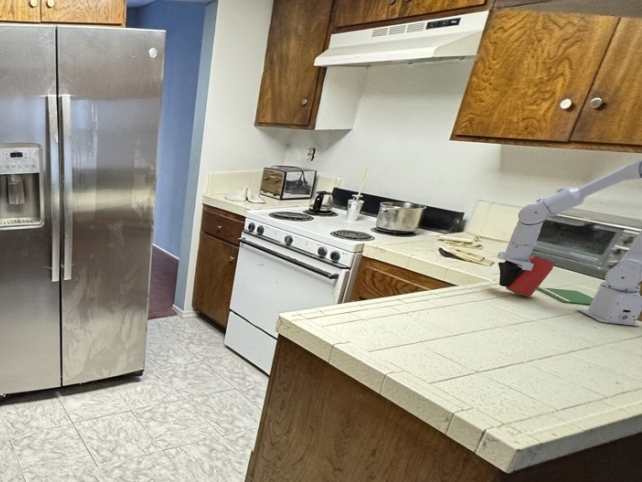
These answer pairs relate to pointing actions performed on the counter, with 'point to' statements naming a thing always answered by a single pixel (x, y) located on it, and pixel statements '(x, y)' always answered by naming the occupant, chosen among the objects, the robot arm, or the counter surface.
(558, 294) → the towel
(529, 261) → the robot arm
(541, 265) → the beer can
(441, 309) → the counter surface
